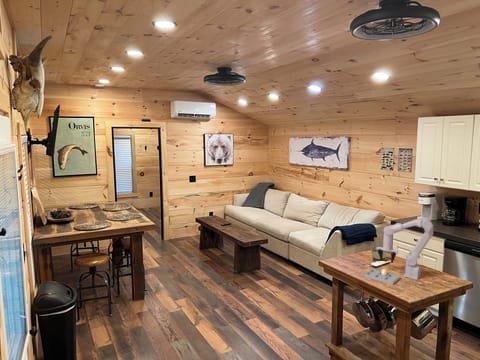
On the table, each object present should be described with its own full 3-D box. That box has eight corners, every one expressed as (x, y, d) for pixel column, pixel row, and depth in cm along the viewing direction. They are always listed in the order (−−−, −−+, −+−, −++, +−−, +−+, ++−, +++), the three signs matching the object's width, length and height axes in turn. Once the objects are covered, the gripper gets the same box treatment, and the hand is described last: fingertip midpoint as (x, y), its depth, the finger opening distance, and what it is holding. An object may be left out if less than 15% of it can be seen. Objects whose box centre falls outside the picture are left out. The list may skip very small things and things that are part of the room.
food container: (384, 259, 287) (385, 247, 286) (387, 261, 281) (387, 249, 280) (369, 258, 288) (369, 247, 287) (371, 261, 282) (371, 249, 281)
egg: (387, 275, 254) (387, 268, 253) (386, 277, 250) (386, 270, 250) (381, 274, 256) (381, 267, 255) (380, 276, 252) (380, 269, 252)
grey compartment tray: (400, 278, 249) (400, 276, 249) (392, 284, 239) (392, 282, 239) (372, 271, 263) (372, 268, 262) (364, 276, 253) (364, 274, 252)
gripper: (399, 243, 253) (399, 261, 255) (379, 239, 263) (378, 257, 265) (396, 246, 248) (395, 264, 250) (375, 242, 258) (375, 259, 260)
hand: (386, 261), depth 257 cm, fingers open, 7 cm apart
